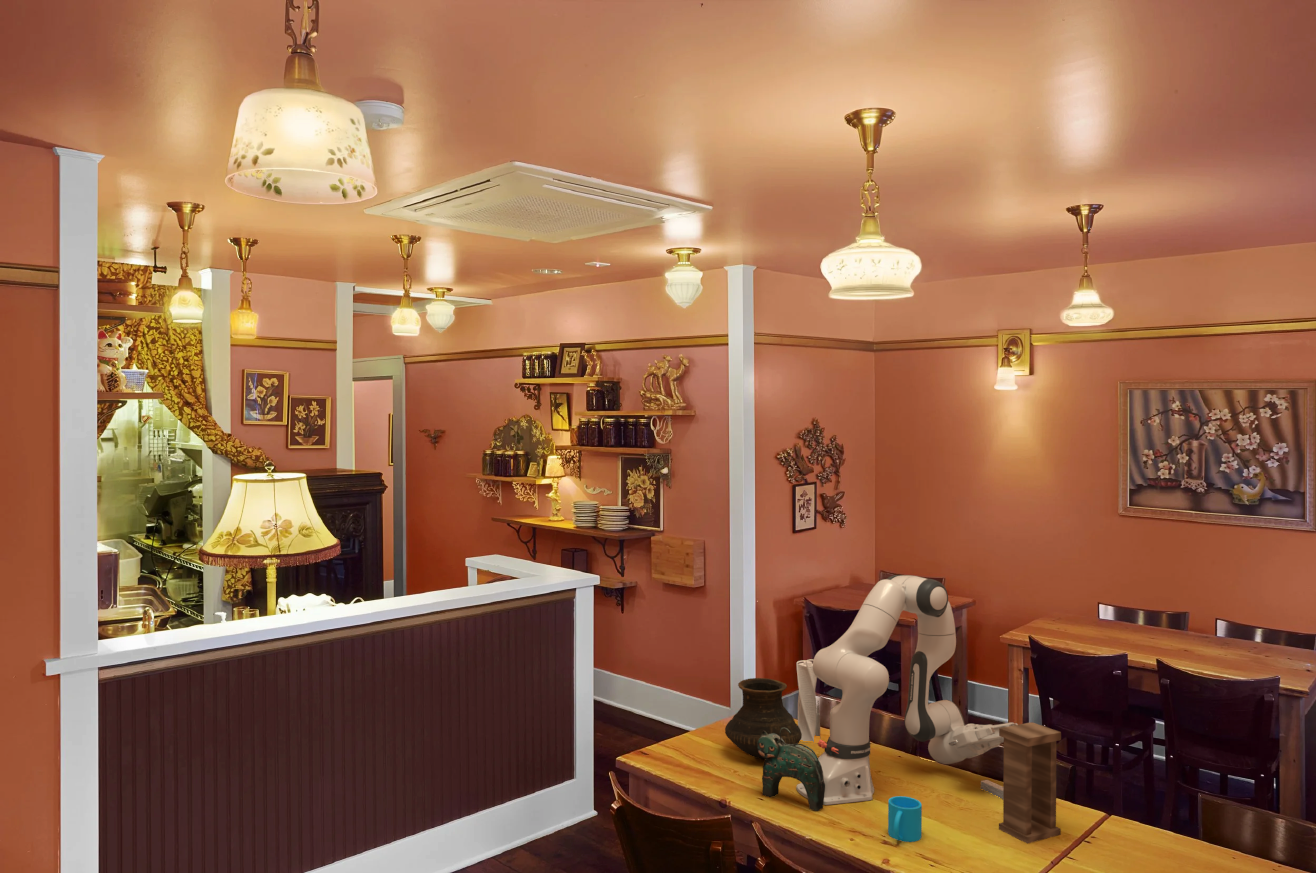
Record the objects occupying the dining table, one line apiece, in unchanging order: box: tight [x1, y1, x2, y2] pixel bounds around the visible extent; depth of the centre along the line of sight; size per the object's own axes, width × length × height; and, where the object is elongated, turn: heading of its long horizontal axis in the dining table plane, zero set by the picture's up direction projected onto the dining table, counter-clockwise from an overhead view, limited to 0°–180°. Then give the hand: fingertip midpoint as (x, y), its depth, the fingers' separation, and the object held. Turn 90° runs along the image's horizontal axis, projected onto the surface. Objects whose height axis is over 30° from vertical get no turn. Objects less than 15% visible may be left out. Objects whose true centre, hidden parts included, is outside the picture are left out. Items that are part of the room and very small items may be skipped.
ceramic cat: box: [757, 727, 825, 812], centre depth 242 cm, size 20×6×20 cm, turn 50°
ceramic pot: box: [724, 677, 802, 760], centre depth 278 cm, size 24×24×22 cm
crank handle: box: [980, 779, 1003, 800], centre depth 246 cm, size 17×7×6 cm, turn 27°
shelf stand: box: [998, 722, 1062, 844], centre depth 224 cm, size 12×9×26 cm
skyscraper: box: [796, 658, 821, 742], centre depth 293 cm, size 8×8×28 cm
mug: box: [887, 795, 923, 843], centre depth 220 cm, size 12×8×8 cm
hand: (1004, 728), depth 246 cm, fingers open, 8 cm apart
